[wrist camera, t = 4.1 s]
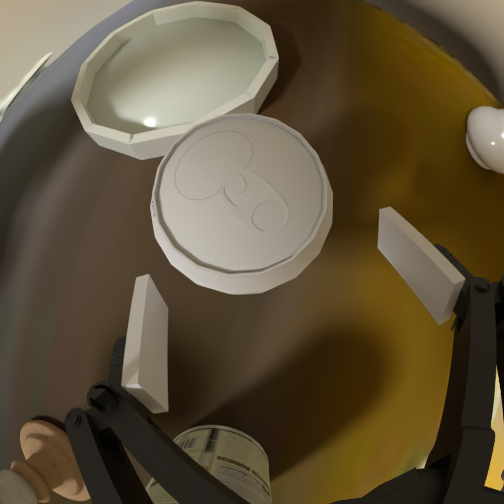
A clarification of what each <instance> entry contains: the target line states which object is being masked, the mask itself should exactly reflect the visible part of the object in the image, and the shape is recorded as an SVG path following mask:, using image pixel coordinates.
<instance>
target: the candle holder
mask: <svg viewBox="0 0 504 504" xmlns="http://www.w3.org/2000/svg"><path fill="white" fill-rule="evenodd" d="M20 441H21V447H22V450H23V453H24V455H25V458H26V461H25V462H24V461H21V460H14V461H13V462H12V464H11V470H9V469H3V470H1V471H0V504H38V501H39V502H44V503H45V502H48V501H49V500H50V498H51V494H50V491H52V490H53V491H55V492H56V493H58V494H60V495H62V496H64V497H66V498H69V499H72V500H76V501H85V500H88V499H90V496H89V493H88V491H87V488H86V486H85V484H84V481H83V478H82V476H81V473H80V471H79V468H78V465H77V462H76V459H75V456H74V453H73V450H72V447H71V444H70V441H69V437H68V434H66V433H65V432H64V431H63V430H61V429H60V428H58V427H57V426H55V425H53V424H51V423H49V422H47V421H43V420H32V421H29V422H27V423H26V424H25V425H24V426H23V428H22V430H21V434H20Z"/></svg>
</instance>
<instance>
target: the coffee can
mask: <svg viewBox="0 0 504 504" xmlns="http://www.w3.org/2000/svg"><path fill="white" fill-rule="evenodd" d="M173 441H174V442H175V443H176V444H177V445H178V446H179V447H180V448H181V449H182V450H183V451H185V452H186V453H187V454H188V455H189V456H190V457H191V458H192V459H194V460H195V461H196V462H197V463H198V464H199V465H201V466H202V467H203V468H204V469H205V470H207V471H208V472H209V473H210V474H212V475H213V476H214V477H215V478H217V479H218V480H219V481H220V482H222V483H223V484H224V485H226V486H227V487H228V488H230V489H231V490H232V491H234V492H235V493H237V494H238V495H239V496H241V497H242V498H244V499H245V500H247V501H248V502H249V503H251V504H272V500H271V490H270V480H269V461H268V457H267V454H266V453H265V451H264V449H263V448H262V446H261V445H260V444H259V443H258V442H257V441H256V440H255V439H253V438H252V437H251V436H249V435H247V434H245V433H244V432H242V431H239V430H236V429H234V428H230V427H227V426H221V425H201V426H197V427H193V428H191V429H188V430H186V431H184V432H182V433H181V434H179V435H178V436H177V437H176V438H175V439H174V440H173ZM146 491H147V493H148V495H149V496H150V498H151V500H152V501H153V503H154V504H179V503H178V502H177V501H176V500H175V499H174V498H173V497H172V496H171V495H170V494H168V493H167V492H166V491H165V490H164V489H163V488H162V487H161V486H160V485H159V484H158V483H157V481H156V480H155V479H154V478H153V477H152V479H151V481H150V482H149V484H148V485H147V487H146Z"/></svg>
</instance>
